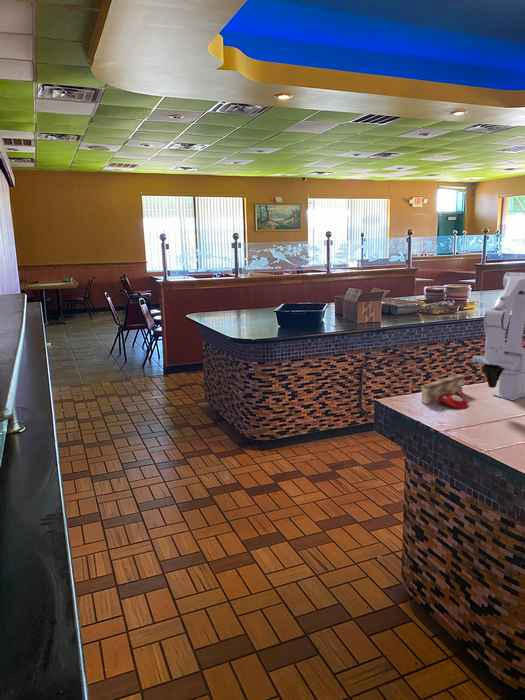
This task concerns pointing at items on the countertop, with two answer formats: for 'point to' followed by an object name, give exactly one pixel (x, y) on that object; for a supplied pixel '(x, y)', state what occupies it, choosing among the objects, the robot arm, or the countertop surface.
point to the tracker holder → (453, 400)
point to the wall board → (441, 388)
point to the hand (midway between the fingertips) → (492, 386)
